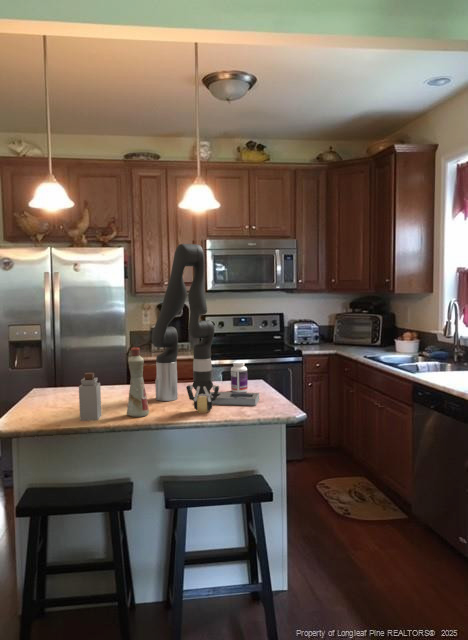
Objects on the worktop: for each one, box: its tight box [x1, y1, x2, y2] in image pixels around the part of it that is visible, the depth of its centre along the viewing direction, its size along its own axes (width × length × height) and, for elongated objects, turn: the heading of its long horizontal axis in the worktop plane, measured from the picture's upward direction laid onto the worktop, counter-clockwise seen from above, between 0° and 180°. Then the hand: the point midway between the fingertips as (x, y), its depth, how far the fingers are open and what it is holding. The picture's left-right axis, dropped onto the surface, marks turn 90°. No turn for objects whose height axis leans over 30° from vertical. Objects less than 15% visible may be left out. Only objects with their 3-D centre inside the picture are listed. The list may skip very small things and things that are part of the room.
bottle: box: [126, 346, 150, 418], centre depth 206 cm, size 9×9×28 cm
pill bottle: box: [230, 360, 249, 393], centre depth 249 cm, size 8×8×14 cm
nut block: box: [196, 396, 209, 414], centre depth 211 cm, size 4×4×6 cm
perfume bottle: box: [78, 372, 102, 421], centre depth 203 cm, size 7×7×18 cm
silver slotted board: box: [199, 391, 260, 407], centre depth 228 cm, size 26×12×3 cm, turn 79°
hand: (203, 409), depth 211 cm, fingers open, 4 cm apart
